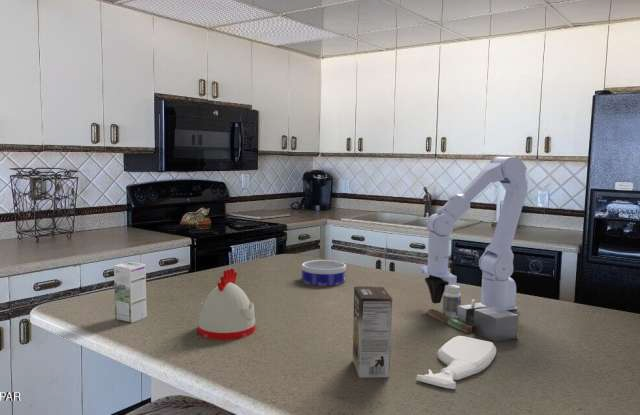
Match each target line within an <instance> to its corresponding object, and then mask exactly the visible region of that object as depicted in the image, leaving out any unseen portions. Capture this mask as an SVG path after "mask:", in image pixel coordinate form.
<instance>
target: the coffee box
mask: <svg viewBox="0 0 640 415" xmlns="http://www.w3.org/2000/svg"><path fill="white" fill-rule="evenodd" d="M392 320H393V298H392V297H391V295H390V294H389V293H388V291H387V290H386V289H385V288H384V287H383V286H367V285H366V286H362V285H361V286H354V287H353V324H352V326H353V327H352V329H353V332H352V334H353V335H352V336H353V337H352V362H353V365H354V367H355V370H356V373H357V375H358V378H362V379H363V378H364V379H365V378H390V371H391V370H390V368H391V365H390V364H391V346H392V344H391V343H392V323H393V321H392Z"/></svg>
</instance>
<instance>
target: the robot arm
mask: <svg viewBox="0 0 640 415" xmlns="http://www.w3.org/2000/svg"><path fill="white" fill-rule="evenodd" d="M527 169H528V168H527V166H526V165H525V163H524V162H523V160H522V158H520V157H518V156H500V155H499V156H495V157H493V158H491V159H490V161H489V162H488V163H486V164H485V165H484V166H483V168H482V169H481V171H480V172H479V173H478V174H477V175H476V176H475V178H474V179H473V180H472V181H471V182H470V183H469V184H468V186H467V187H466V188H465V189H464V190H463V191H462V192H461V193H455V194H453V195H450V196H448V198H447V199H448V201H447V202H446V203H445V204H443V205H442V206H441V208H437V209H436V212H437V213H433V214H431V215H430V216H429V217H428V219H427V222H425V227H426V229H427V231H428V243H427V244H428V245H427V246H428V248H427V265H421V266H419V274H424V275H427V276H428V277H425V278H424V281H425V283H426V284H427V285H426V286H427V287H428V290H429V294H430V300H431V302H432V303H433V304H440V303H441V302H442V300H443V294H444V292H446V291H445V286H446V285H454V284H457V278H458V277H457V275H454V274H452V273H451V272H450V271H449V256H450V255H449V253H450V252H449V250H450V234H451V233H452V232H453V231H454V227H455V224H456V223H457V222H458V221H459V220H461V218H462V217H463V216H464V215H465V214H466V213H467V212H468V211H469V210H470V208H471V201H473V200H474V199H475V198H476V197H477V196H478V195H479V194H480V193H481V192H483V191H484V190H485V188H487V187H488V186H489V185H490V184H492V183H496V182H500V185H502V187H503V189H504V190H505V195H504V198H503V201H502V206H501V209H500V212H499V216H498V219H497V223H496V226H495V229H494V231H493V237H492V241H491V243H490V244H488V245H487V246H486V247H485V248H484V252H483V254H482V255H481V256H480V258H479V260H478V266H479V269H480V271H482V273H481V274H482V275H481V290H480V291H481V293H480V294H481V295H480V302H475V304H478V303H480V304H483V305H486V306H488V308H490V307H498V308H501V309H503V310H506V311H511V310H517V309H518V306H516V299H517V298H516V296H517V284H516V281H515V280H514V279H513V278H512V277H511V276H512V275H513V273H514V258H515V256H514V253H513V251H512V244H513V241H514V237H515V234H516V230H517V226H518V223H519V220H520V216H521V213H522V209H523V206H524V202H525V199H526V195H527V192H528V183H527V176H526V174H527V173H526V172H527Z"/></svg>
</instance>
